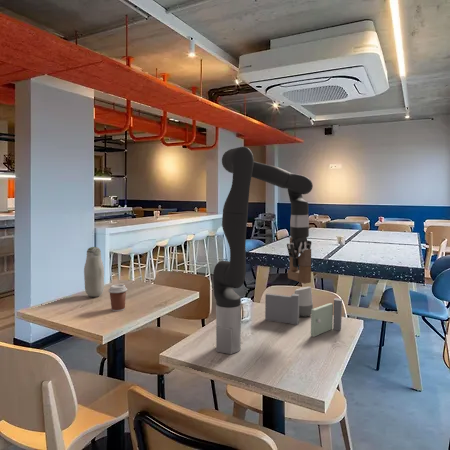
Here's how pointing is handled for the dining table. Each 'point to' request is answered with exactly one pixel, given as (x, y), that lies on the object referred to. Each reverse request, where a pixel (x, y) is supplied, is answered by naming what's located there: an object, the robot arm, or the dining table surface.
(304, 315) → the smart speaker
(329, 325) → the door
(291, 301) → the wall frame
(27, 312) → the dining table surface
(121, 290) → the coffee cup
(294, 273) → the wooden block
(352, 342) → the dining table surface
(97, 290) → the beige bottle
